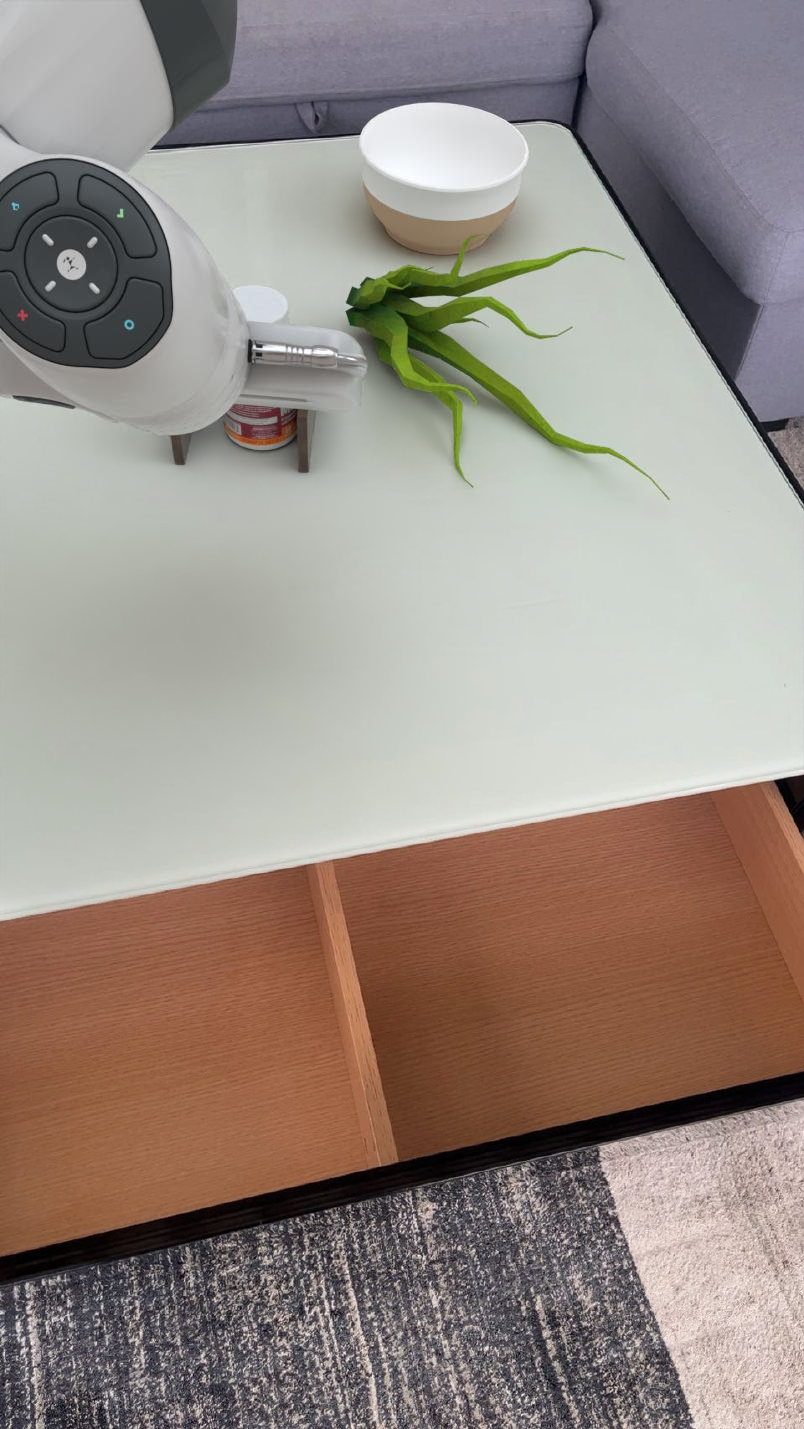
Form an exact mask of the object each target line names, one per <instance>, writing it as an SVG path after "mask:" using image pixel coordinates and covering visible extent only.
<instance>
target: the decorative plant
mask: <svg viewBox="0 0 804 1429" xmlns="http://www.w3.org/2000/svg"><path fill="white" fill-rule="evenodd" d="M480 235H486V234H478V235H473V236H470V237H469V238H468V239H467V240H466V241H465V242H464V243H463V246H462V248H461V251H460V253H459V254H458V256H457V259H456V261H455V263H454V265H453V267H452V269H451V270H450V272H449V273H438V272H435V271H432V270H431V269H433V268H434V266H431V267H428V268H425V269H424V268H422V267H419V266H416V265H412V264H406V265H403V266H401V267H400V268H398V269H396V270H389V271H388V272H387V273H386V274H384V275H382V276H380V277H376V278H373V277H369V276H365V278H364V279H363V280H362V281H361V283H360V284H359V286H360V287H359V288H358V287H355V286H351V288H350V291H349V293H348V296H347V298H346V300H345V304H347V305H349V306H350V308H348V309H346V310H345V311H344V312H345V315H346V318H347V321H348V324H349V326H350V327H355V328H356V327H357V328H361V329H364V330H365V331H367V333H369V335H370V336H371V337H372V338H373V340H374V342H375V347H376V351H377V352H376V353H377V358H378V359H379V360H380V361H381V362H383V363H385V364H386V365H388V366H389V367H391V368H393V369H394V371H395V373H396V375H397V376H398V378H399V379H400V381H401V383H402V384H403V386H404V387H406V388H410V389H414V390H419V391H423V392H426V393H427V392H428V393H432V394H433V395H434V396H435V397H436V398H437V399H438V400H440V401H441V402H442V403H443V404H444V405H445V406H446V407H447V408H449V409H450V410H451V411H452V414H451V415H452V426H453V428H452V429H453V459H454V464H455V468H456V470H457V472H458V473H459V475H460V476H461V478H462V479H463V481H464V482H466V483H467V484H468V485H469V487H471V488H472V489H474V488H475V487H474V485H472V483H470V482H469V481H468V480H467V479H466V478H465V475H464V472H463V470H462V468H461V464H460V454H459V453H460V446H461V438H462V428H463V427H462V426H463V411H464V410H463V408H464V404H463V402H462V401H461V400H460V398H459V397H458V395H456V393H455V392H454V391H456V392H460V393H463V394H464V393H465V395H467V397H469V398H470V399H471V400H472V401H473V402H474V403H473V409H474V408H476V406H477V404H478V400H477V399H476V398H475V397H474V395H473V393H472V392H471V391H470V390H469V389H468V388H466V387H464V386H462V385H459V384H454V383H453V384H452V383H447V382H446V380H445V378H444V377H443V375H441V374H439V373H438V372H436V371H435V370H434V369H433V368H431V367H429V366H428V365H427V364H425V363H424V362H423V361H421V360H420V359H419V358H418V357H416V356H415V355H413V354H411V353H410V352H408V348H410V349H411V350H414V351H417V352H420V353H422V354H425V355H427V356H431V357H433V358H436V359H439V360H441V361H442V362H444V363H446V364H447V365H449V366H451V367H453V369H454V368H455V369H456V370H457V371H459V372H461V373H463V374H464V375H466V376H468V377H469V378H471V379H472V380H473V381H474V382H475V383H477V384H478V385H480V386H481V387H482V388H483V389H485V390H486V391H487V392H488V393H490V394H491V395H492V396H493V397H495V399H497V400H499V401H500V402H501V403H502V404H503V405H504V406H506V407H507V408H508V409H509V410H511V411H512V412H514V413H515V414H516V415H518V416H519V417H520V418H521V419H522V420H524V421H525V422H526V423H527V424H529V425H530V426H531V427H532V428H533V429H535V430H536V431H537V432H539V433H540V434H541V435H542V436H544V438H546V439H547V440H549V441H550V443H552V444H555V445H557V446H560V447H564V448H566V449H569V450H572V451H576V452H579V453H582V454H588V455H589V454H593V455H594V454H595V455H596V454H597V455H599V454H601V455H602V454H604V455H606V454H609V455H611V456H613V457H615V458H618V459H619V460H621V461H623V462H625V463H626V464H628V465H629V466H631V467H632V468H633V469H635V470H636V471H638V472H639V473H641V474H642V475H644V476H645V477H647V478H648V479H649V480H650V481H651V482H652V483H653V484H654V485H655V486H656V487H657V489H658V490H659V491H660V492H661V493H662V494H663V495H664V497H666V499H667V500H668V501H670V500H671V498H670V497H669V496H668V495H667V494H666V493H665V491H663V489H662V488H661V487H660V486H659V485H658V484H657V482H656V481H655V480H654V479H653V478H652V477H651V476H650V475H648V474H647V473H646V472H645V471H644V470H642V469H641V468H640V467H638V466H637V465H636V464H634V462H632V461H631V460H630V459H628V458H627V457H626V456H624V455H622V454H620V453H619V452H618V451H615V450H614V449H612V448H611V447H606V446H601V445H595V444H590V443H585V442H582V441H579V440H577V439H575V438H571V437H570V436H567V435H564V434H562V433H559V432H557V431H555V429H554V428H553V427H552V425H550V423H549V422H548V421H547V420H546V419H545V418H544V416H543V415H542V414H541V413H540V411H539V410H538V409H537V408H536V407H535V406H534V404H532V402H531V400H530V399H528V398H527V397H526V395H525V394H524V393H523V391H522V390H520V389H519V388H518V387H516V386H515V385H513V384H512V383H511V382H509V381H508V380H507V379H505V378H504V377H503V376H501V375H500V374H498V373H497V372H496V371H494V370H493V369H491V368H490V367H489V366H488V365H486V364H485V363H483V362H482V361H481V360H479V359H478V358H477V357H475V356H474V355H473V354H472V353H471V352H469V351H468V350H467V349H466V348H465V347H463V346H462V345H461V344H460V343H459V342H458V341H456V340H455V339H454V338H453V337H452V336H449V335H447V334H446V333H444V332H442V331H440V330H443V329H444V328H446V327H448V326H449V325H453V324H464V323H468V322H475V323H479V324H482V325H484V326H485V327H487V328H490V326H489V325H487V324H485V323H484V322H483V321H481V320H480V319H476V318H474V317H467V316H469V315H472V314H475V313H476V312H479V311H481V310H483V309H486V308H488V309H490V310H491V311H494V312H496V313H497V314H499V315H501V316H503V317H505V318H506V319H507V320H509V321H510V322H511V323H512V324H513V325H514V326H516V327H517V328H518V329H519V330H520V331H521V332H522V333H523V334H525V336H528V337H530V338H531V337H532V338H535V339H538V340H544V339H551V338H557V337H560V336H561V335H563V334H564V333H567V332H568V331H570V330H571V329H573V328H574V326H570V327H568V328H567V329H565V330H564V331H562V332H560V333H558V334H542V335H541V334H538V333H537V332H534V331H532V330H530V329H529V328H527V326H526V325H525V324H524V322H523V321H522V320H521V319H520V318H519V317H518V316H517V314H516V313H515V312H514V311H513V310H512V309H511V308H509V307H508V306H507V305H505V304H504V303H502V302H501V301H500V300H497V299H496V298H494V297H492V296H466V295H469V294H471V293H474V292H477V291H479V290H482V289H485V288H488V287H490V286H495V285H496V284H499V283H502V282H505V281H508V280H509V279H512V278H515V277H517V276H522V275H525V274H529V273H532V272H535V271H538V270H539V271H540V270H542V269H546V268H549V267H551V266H553V265H555V264H557V263H558V262H560V261H561V260H563V259H566V258H567V257H568V256H570V255H573V254H576V253H580V252H593V253H603V254H604V253H605V254H607V255H610V256H613V257H615V258H617V259H620V260H623V261H625V260H626V258H624V257H623V256H622V257H621V256H619V255H616V254H614V253H611V252H609V251H606V250H602V249H597V248H592V247H586V246H582V247H576V248H569V249H567V250H564V251H560V252H558V253H555V254H553V255H551V256H548V257H545V258H544V257H543V258H536V259H535V258H534V259H525V260H524V259H523V260H516V261H511V262H506V263H503V264H498V265H495V266H490V267H485V268H483V269H480V270H477V271H475V272H472V273H469V274H466V275H463V276H461V275H459V273H460V271H461V268H462V265H463V261H464V257H465V253H466V252H465V250H466V246H467V244H468V243H469V241H470V240H471V238H474V237H477V236H480ZM486 236H489V237H493V235H492V234H490V235H486ZM444 296H445V297H452V298H453V297H454V299H452V300H450V301H448V302H446V303H443V304H442V305H439V306H424V305H423V304H421V303H419V302H418V301H415V300H413V299H417V298H426V297H444Z"/></svg>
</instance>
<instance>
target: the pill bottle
mask: <svg viewBox="0 0 804 1429" xmlns="http://www.w3.org/2000/svg"><path fill="white" fill-rule="evenodd" d="M231 290H232V291H233V293H234V295H235V296H236V298H237V300H238V301H239V303H240V305H241V307H242V309H243V311H244V313H245V316H246V318H247V321H255V322H267V323H279V324H290V317H289V316H290V315H289V303H288V300H287V298H286V297H285V296H284V295H283V294H282V293H281V292H279V291H278V290H276V289H274V288H272V287H268V286H265V285H258V284H256V285H255V284H247V285H241V286H237V287H234V288H233V289H232V288H231ZM297 411H298V409H294V408H281V407H269V406H256V405H243V404H233V405H232V407H231V408H230V409H229V410H228V411H227V412H226V413H225V414H224V415H223V416H222V419H223V426H224V431H225V433H226V435H227V436H228V438H230V439H231V441H233V442H234V443H235V444H236V445H239V446H241V447H242V448H246V449H250V450H255V451H269V450H275V449H279V448H280V447H283V446H285V445H287V444H289V443H290V442H291V441H292V440H293V439H294V438H295V437H296V435H297Z"/></svg>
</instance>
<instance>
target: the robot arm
mask: <svg viewBox="0 0 804 1429" xmlns="http://www.w3.org/2000/svg"><path fill="white" fill-rule="evenodd" d="M237 28H238V0H0V126H1V127H2V128H1V127H0V398H4V399H11V400H16V401H19V402H24V403H32V404H33V403H34V404H40V405H48V406H54V407H61V408H64V409H70V410H75V409H77V410H79V411H80V410H81V411H84V412H87V413H90V414H92V415H95V416H97V417H99V418H100V419H104V420H106V421H109V422H111V423H113V424H120V423H123V424H125V425H128V426H130V427H132V428H134V429H137V430H140V431H142V432H145V433H148V434H152V435H159V436H170V435H181V434H187V433H191V432H192V433H194V432H198V431H199V430H202V429H204V428H206V427H208V426H210V425H212V424H213V423H215V422H216V421H219V419H220V418H222V417H223V415H224V414H225V413H226V412H227V411H228V410H229V409H230V408H231V407H232V405H233V404H243V405H256V406H269V407H281V408H294V409H307V410H316V411H321V412H334V413H348V412H350V413H351V412H356V411H358V410H359V409H360V408H361V405H362V399H363V398H362V395H363V386H364V377H365V376H366V375H367V372H368V371H369V363H368V360H367V356H365V352H364V350H363V347H362V346H361V345H360V343H359V342H358V341H357V340H356V339H355V338H354V337H353V336H351V335H350V334H348V333H347V332H345V331H341V330H339V329H333V328H329V327H328V328H327V327H322V326H314V325H304V324H302V325H301V324H290V323H289V324H279V323H267V322H255V321H247V318H246V316H245V313H244V311H243V309H242V307H241V305H240V303H239V301H238V300H237V298H236V296H235V295H234V293H233V291H232V288H231V287H230V284H229V283H228V281H227V279H226V278H225V277H224V275H223V274H222V272H221V271H220V270H219V267H218V266H217V264H216V262H215V260H214V259H213V255H212V254H211V253H210V251H209V250H208V248H207V247H206V245H205V244H204V243H203V241H202V239H201V238H200V237H199V236H198V234H197V233H196V232H195V230H194V229H193V228H192V226H190V224H189V223H188V222H187V221H186V219H184V218H183V217H182V216H181V215H180V213H179V212H177V210H175V208H174V207H172V206H171V205H170V204H169V203H168V202H167V201H165V200H164V199H163V198H162V197H161V196H160V195H159V194H157V193H156V192H154V191H153V190H152V189H151V188H149V187H148V186H147V185H146V184H144V183H143V182H142V181H140V180H138V179H137V178H135V177H133V176H131V175H130V174H129V172H130V171H131V170H132V169H133V168H134V167H135V166H136V165H137V164H138V163H139V162H140V161H141V160H142V159H143V157H144V156H145V155H147V153H149V151H151V149H152V148H153V147H154V146H155V145H156V144H157V143H158V142H159V141H160V140H161V139H162V138H163V137H164V136H165V135H166V134H171V133H172V132H174V131H175V130H177V129H178V127H180V126H181V125H182V124H183V123H184V122H186V121H187V120H188V119H189V118H190V117H191V116H193V115H194V114H195V113H196V112H197V111H199V110H200V109H201V108H202V107H203V106H204V105H206V104H207V103H208V102H209V101H210V100H212V99H213V98H214V97H215V96H216V95H217V94H218V93H219V92H220V91H222V90H223V89H224V88H226V87H227V86H228V85H229V83H230V81H231V76H232V70H233V64H234V56H235V50H236V40H237V32H238V31H237ZM6 132H7V133H6ZM10 137H11V138H10ZM192 433H191V434H192Z"/></svg>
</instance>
